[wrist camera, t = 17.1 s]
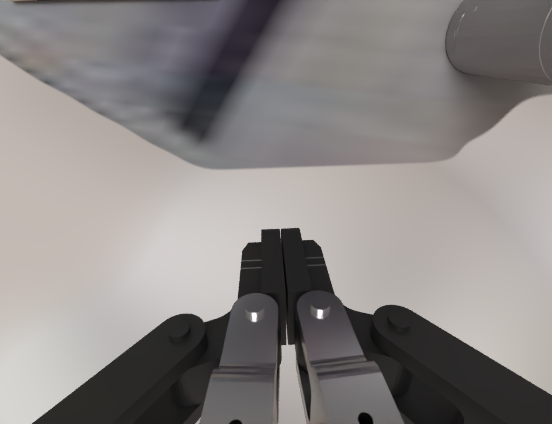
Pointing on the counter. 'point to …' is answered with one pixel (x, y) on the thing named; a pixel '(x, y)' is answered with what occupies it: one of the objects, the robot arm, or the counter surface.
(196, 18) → the counter surface
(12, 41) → the counter surface
